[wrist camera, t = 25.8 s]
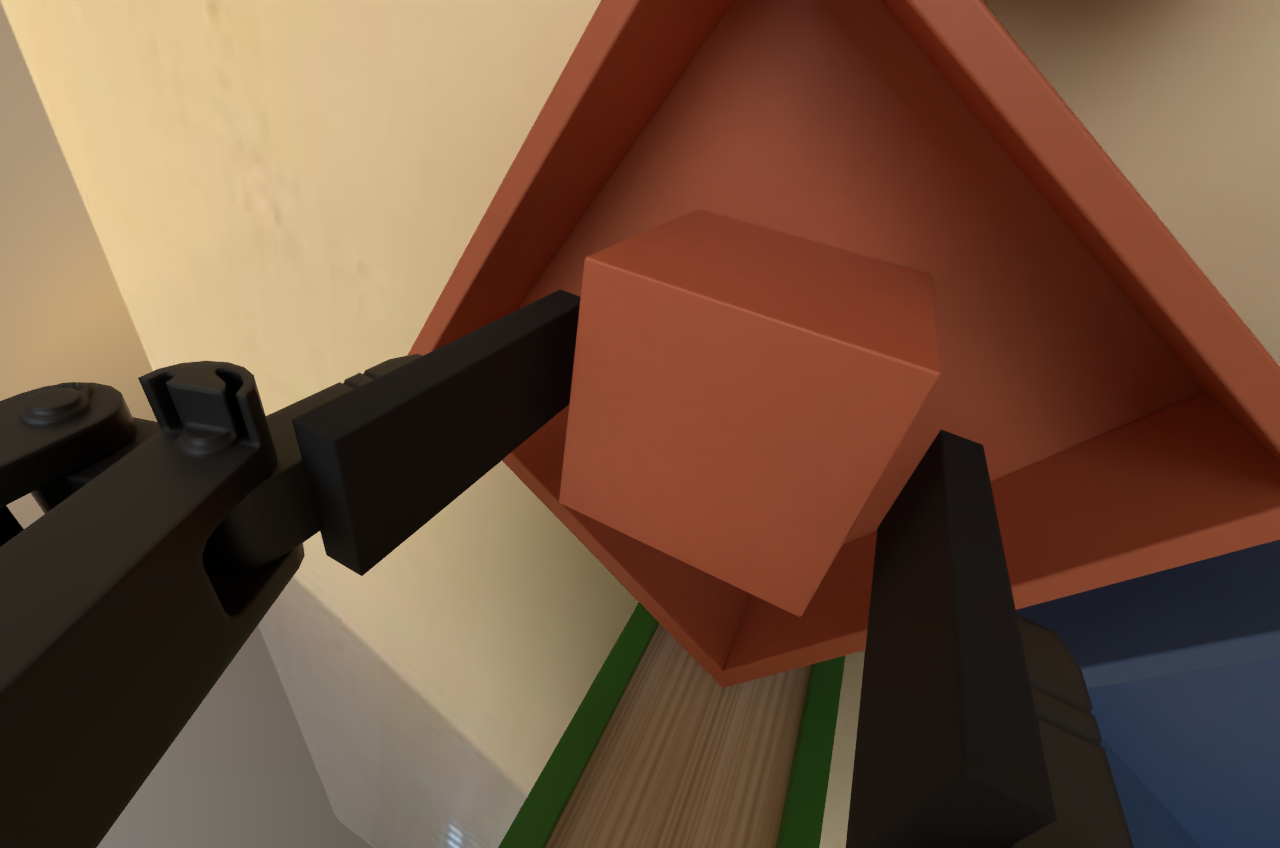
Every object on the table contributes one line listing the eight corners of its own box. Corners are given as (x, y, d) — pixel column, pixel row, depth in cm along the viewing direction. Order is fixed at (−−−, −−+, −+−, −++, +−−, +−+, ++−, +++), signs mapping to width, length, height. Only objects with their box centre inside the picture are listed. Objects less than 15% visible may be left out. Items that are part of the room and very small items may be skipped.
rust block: (932, 274, 12) (942, 374, 7) (835, 467, 16) (800, 619, 11) (697, 208, 14) (583, 256, 9) (656, 397, 17) (557, 503, 12)
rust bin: (1246, 385, 11) (1397, 510, 8) (756, 588, 20) (722, 689, 16) (810, -145, 10) (753, -283, 7) (499, 314, 19) (403, 359, 15)
